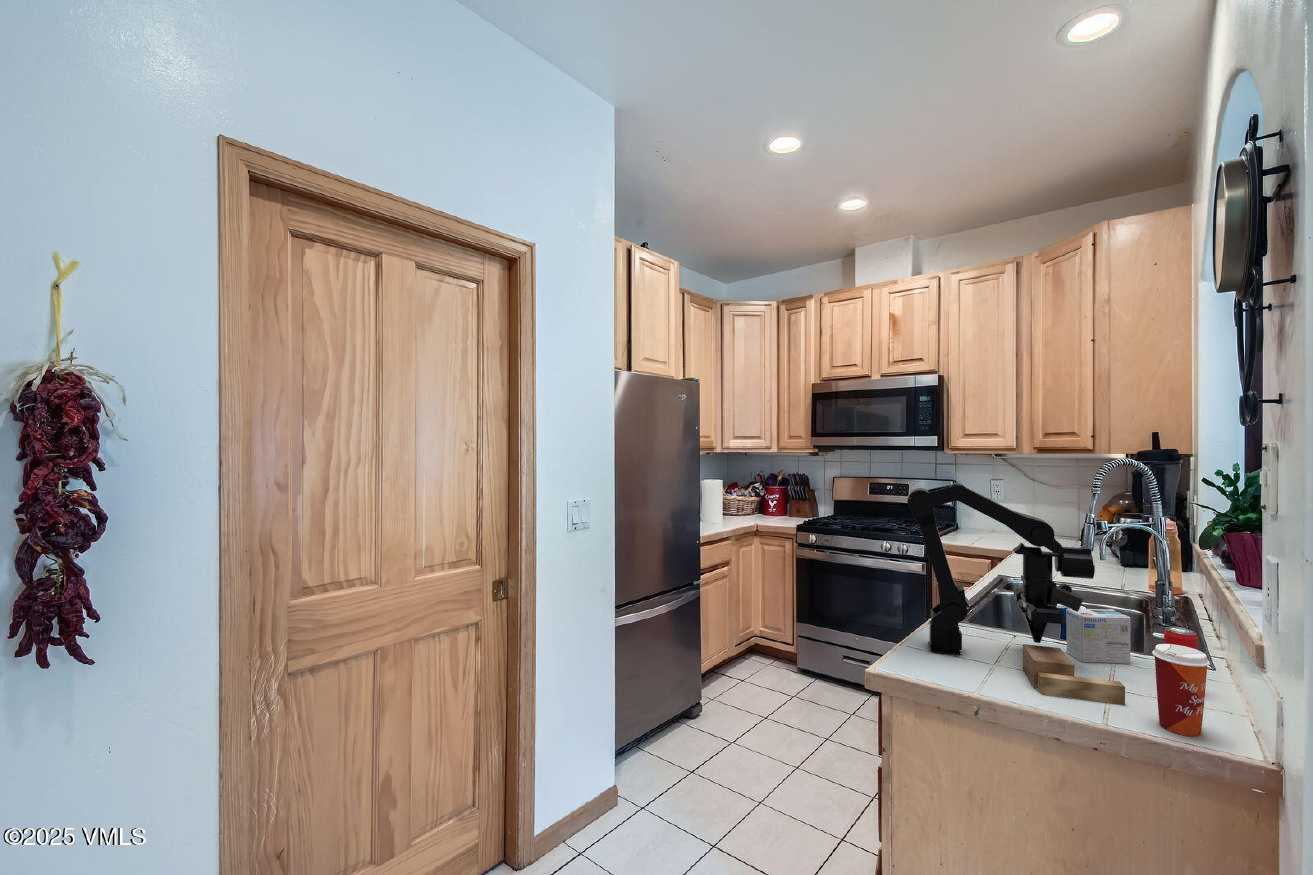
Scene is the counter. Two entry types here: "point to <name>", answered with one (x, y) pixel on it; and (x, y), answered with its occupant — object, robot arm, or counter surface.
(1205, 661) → the paper cup
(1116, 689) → the oak board
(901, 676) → the counter surface
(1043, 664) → the walnut block
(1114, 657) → the light bulb box
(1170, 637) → the beverage can
